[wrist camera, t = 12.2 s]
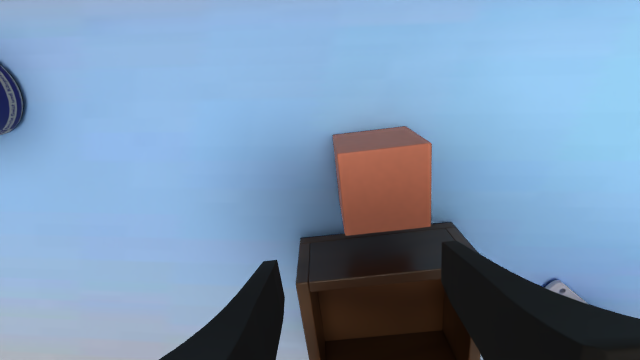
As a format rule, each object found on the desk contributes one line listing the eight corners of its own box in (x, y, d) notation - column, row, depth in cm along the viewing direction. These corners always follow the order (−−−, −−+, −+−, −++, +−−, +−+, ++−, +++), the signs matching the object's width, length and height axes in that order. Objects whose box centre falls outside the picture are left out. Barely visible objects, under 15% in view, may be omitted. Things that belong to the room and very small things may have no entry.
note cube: (332, 134, 21) (336, 153, 16) (406, 125, 20) (432, 142, 16) (339, 201, 22) (345, 236, 18) (407, 193, 22) (431, 227, 17)
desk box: (300, 237, 23) (295, 283, 18) (451, 221, 23) (488, 263, 18) (316, 341, 27) (316, 402, 22) (448, 328, 27) (478, 388, 22)
